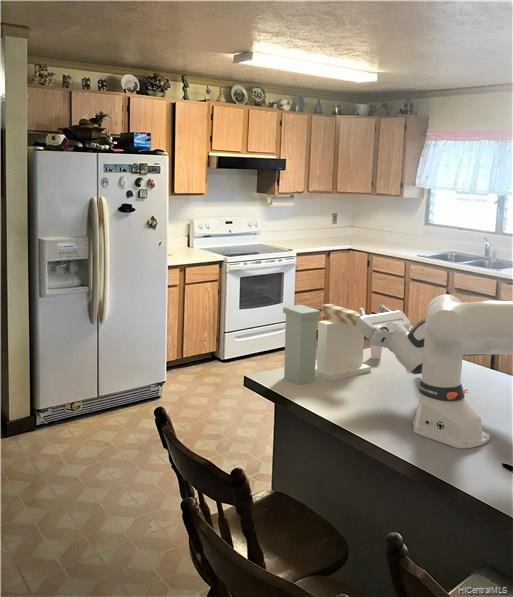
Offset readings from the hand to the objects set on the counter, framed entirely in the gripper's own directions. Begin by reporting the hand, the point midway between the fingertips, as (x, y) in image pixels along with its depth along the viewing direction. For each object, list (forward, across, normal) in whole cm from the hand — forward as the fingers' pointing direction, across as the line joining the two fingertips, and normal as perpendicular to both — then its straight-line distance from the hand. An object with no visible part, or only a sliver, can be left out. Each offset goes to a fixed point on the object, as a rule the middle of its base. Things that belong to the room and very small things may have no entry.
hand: (370, 307), depth 221 cm
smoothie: (+4, -24, +34) cm, 42 cm away
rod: (+8, 0, +14) cm, 16 cm away
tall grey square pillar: (0, +18, +32) cm, 36 cm away
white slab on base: (-1, 0, +31) cm, 31 cm away
